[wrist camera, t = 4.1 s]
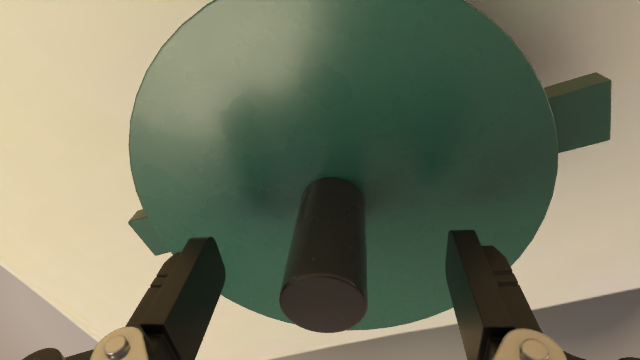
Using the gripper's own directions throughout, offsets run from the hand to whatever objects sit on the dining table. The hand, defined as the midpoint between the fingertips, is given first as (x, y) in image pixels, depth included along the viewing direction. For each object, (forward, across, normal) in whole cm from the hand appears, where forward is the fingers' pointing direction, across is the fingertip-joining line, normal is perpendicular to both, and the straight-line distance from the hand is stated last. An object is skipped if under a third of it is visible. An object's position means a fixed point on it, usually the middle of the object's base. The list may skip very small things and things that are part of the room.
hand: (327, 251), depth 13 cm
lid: (+3, 0, 0) cm, 3 cm away
